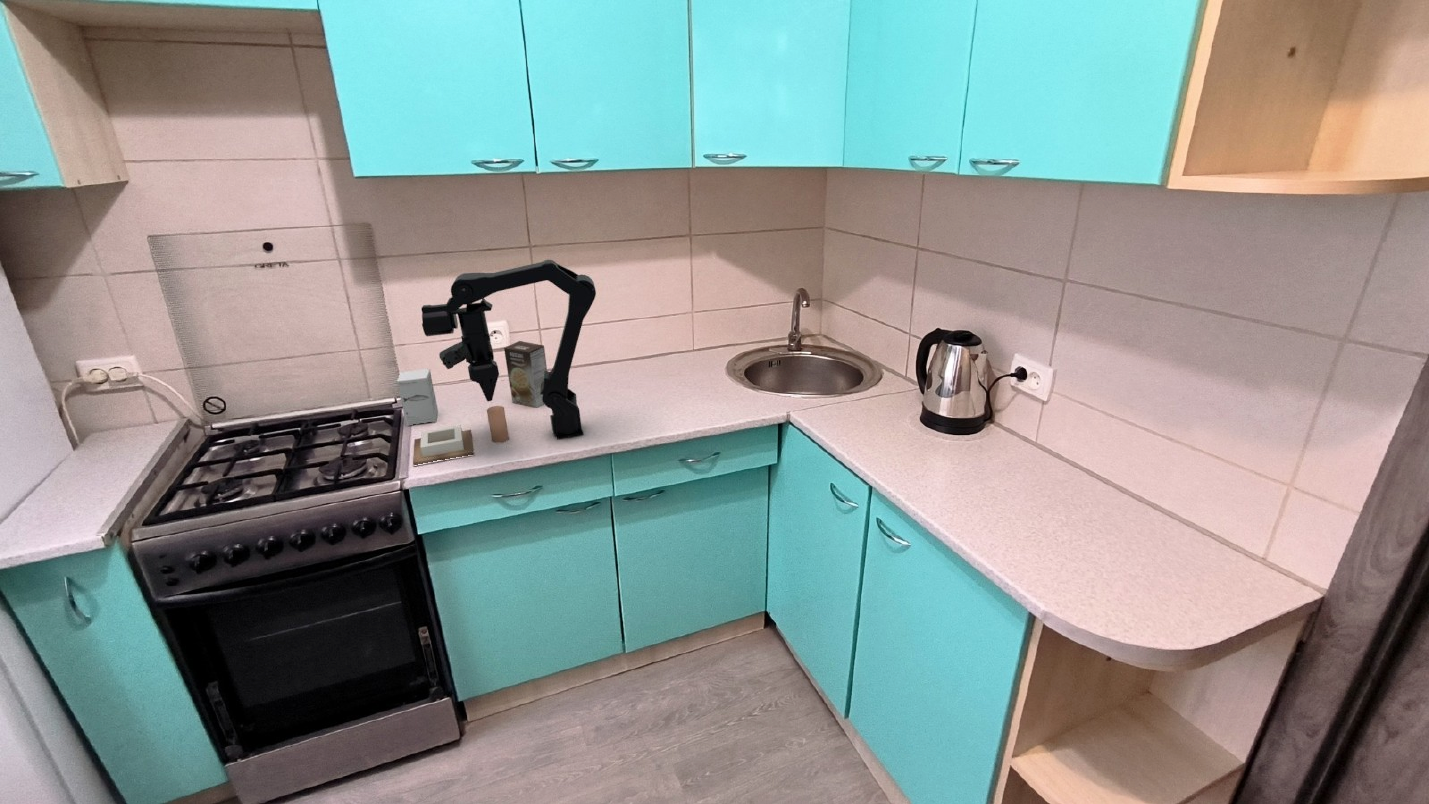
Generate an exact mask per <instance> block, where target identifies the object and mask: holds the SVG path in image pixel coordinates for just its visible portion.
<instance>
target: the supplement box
mask: <svg viewBox="0 0 1429 804" xmlns="http://www.w3.org/2000/svg"><path fill="white" fill-rule="evenodd" d="M396 383H397V389H398V392H399V398H400V401H401V406H402V409H403V414H404V418H405V419H404V420H405V425H406V427H410V426H413V424H416V425H420V424H419V423H424V424H427V423H426V422H434V423H436V422H437V419H438V415H437V413H439V409H438V403H437V399H436V393H435V390H434V389H435V388H434V384H433V379H432V374H431V369H430V368H426V369H417V370H416V369H415V370H409V371H408V370H407V371H401V372H399V375H398V378H397V379H396ZM436 418H437V419H436ZM435 421H436V422H435Z"/></svg>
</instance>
